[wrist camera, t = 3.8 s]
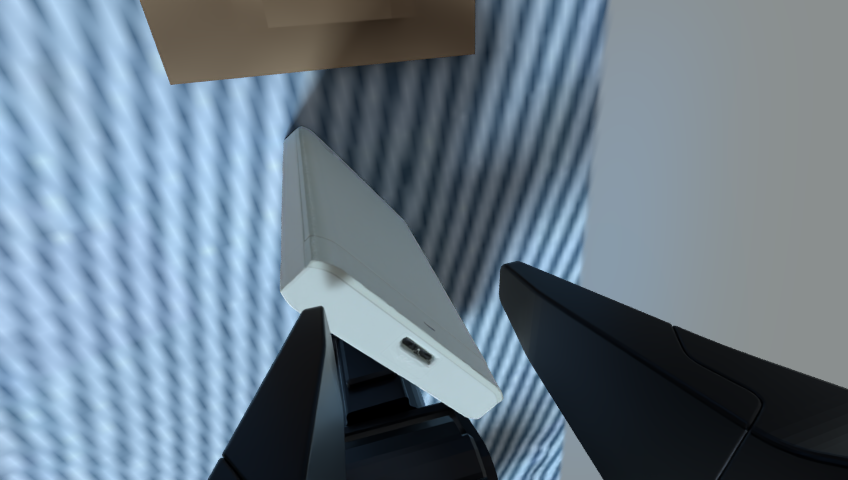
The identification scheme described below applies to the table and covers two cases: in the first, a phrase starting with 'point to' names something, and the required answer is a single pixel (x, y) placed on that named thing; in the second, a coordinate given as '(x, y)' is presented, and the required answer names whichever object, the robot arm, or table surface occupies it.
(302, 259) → the external hard drive
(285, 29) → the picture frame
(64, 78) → the table surface
